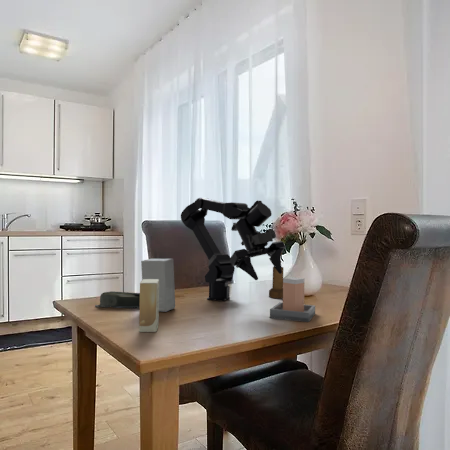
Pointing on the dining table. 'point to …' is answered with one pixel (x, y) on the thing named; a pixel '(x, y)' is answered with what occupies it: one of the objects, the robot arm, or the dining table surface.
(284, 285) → the grey-topped peach block
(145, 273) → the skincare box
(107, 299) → the black stapler
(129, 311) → the dining table surface
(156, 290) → the skincare box
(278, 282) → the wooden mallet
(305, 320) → the tray
